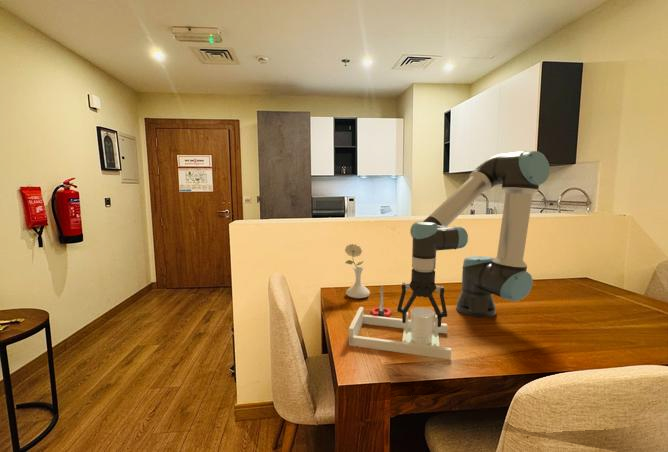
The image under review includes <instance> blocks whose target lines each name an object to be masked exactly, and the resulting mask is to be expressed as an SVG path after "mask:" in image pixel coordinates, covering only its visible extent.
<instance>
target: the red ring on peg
mask: <svg viewBox="0 0 668 452" xmlns="http://www.w3.org/2000/svg"><path fill="white" fill-rule="evenodd" d="M379 293H380V294H379V306H378V307H373V308H371V310H370V313H371V314H372V316H381V317H390V316H391V315H392V310H391V309H390V308H387V307H384V306H385V305H384V285H380V291H379ZM390 318H391V317H390Z"/></svg>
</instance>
